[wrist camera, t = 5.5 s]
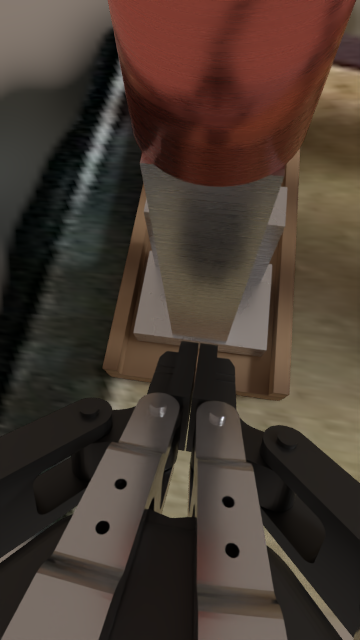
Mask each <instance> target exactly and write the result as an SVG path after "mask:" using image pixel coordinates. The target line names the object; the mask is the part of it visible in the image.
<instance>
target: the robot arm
mask: <svg viewBox="0 0 360 640" xmlns="http://www.w3.org/2000/svg"><path fill="white" fill-rule="evenodd" d="M198 346H199V343H196V342H188V341H181V344H180V348H179V352H172V351H166V352H165V353H164V354H163V355H161V356H160V357H159V360H158V363H157V366H156V369H155V373H154V375H153V378H152V381H151V384H150V387H149V390H148V393H147V395H145V396H143V397H142V398H141V399H140V400H139V401H138V403H137V405H136V406H135V407H132V408H129V409H122V410H112V407H111V405H110V404H109V403H108V402H107V401H105V400H103V399H100V398H85V399H81V400H79V401H77V402H74V403H72V404H70V405H68V406H66V407H64V408H62V409H59V410H57V411H55V412H53V413H51V414H49V415H46V416H44V417H42V418H40V419H38V420H36V421H34V422H31V423H29V424H27V425H25V426H23V427H21V428H18V429H16V430H14V431H12V432H10V433H8V434H6V435H3V436H1V437H0V558H1V557H3V556H4V555H6V554H7V553H8V552H10V551H11V550H13V549H14V548H16V547H17V546H19V545H20V544H22V543H23V542H25V541H26V540H28V539H29V538H30V537H32V536H33V535H35V534H36V533H38V532H39V531H41V530H42V529H44V528H45V527H47V526H48V525H49V524H51V523H52V522H54V521H55V520H57V519H58V518H60V517H61V516H63V515H64V514H66V513H67V512H68V511H70V510H71V509H73V508H74V507H76V506H77V505H78V506H77V508H76V510H75V512H74V514H72V515H70V516H67V517H65V518H63V519H61V520H60V521H58V522H56V523H55V524H53V525H52V526H50V527H49V528H47V529H46V530H45V531H43V532H42V533H41V534H39V535H38V536H36V537H35V538H34V539H32V540H31V541H30V542H28V543H27V544H26V545H24V546H23V547H21V548H20V549H19V550H17V551H16V552H15V553H13V554H12V555H10V556H9V557H8V558H6V559H5V560H4V561H2V562H1V563H0V640H342V638H341V637H340V636H339V634H338V633H337V631H336V630H335V629H334V627H333V626H332V625H331V623H330V622H329V621H328V619H327V618H326V617H325V615H324V614H323V612H322V611H321V610H320V608H319V607H318V606H317V604H316V603H315V602H314V600H313V599H312V598H311V596H310V595H309V594H308V592H307V591H306V590H305V588H304V587H303V585H302V584H301V583H300V581H299V580H298V579H297V577H296V576H295V575H294V573H293V572H292V571H291V569H290V568H289V567H288V565H287V564H286V563H285V562H284V561H283V560H282V559H281V558H280V557H279V555H277V554H276V553H275V552H274V551H273V550H272V549H271V548H269V547H268V546H267V545H266V541H265V535H264V529H263V525H264V527H265V528H266V529H267V530H268V532H269V533H270V534H271V535H272V537H273V538H274V539H275V540H276V542H277V543H278V544H279V545H280V547H281V548H282V549H283V550H284V552H285V553H286V554H287V555H288V557H289V558H290V559H291V560H292V562H293V563H294V564H295V565H296V567H297V568H298V569H299V570H300V572H301V573H302V574H303V575H304V577H305V578H306V579H307V580H308V582H309V583H310V584H311V585H312V587H313V588H314V589H315V590H316V592H317V593H318V594H319V595H320V597H321V598H322V599H323V600H324V602H325V603H326V604H327V605H328V607H329V608H330V609H331V610H332V612H333V613H334V614H335V615H336V617H337V618H338V619H339V620H340V622H341V623H342V624H343V625H344V627H345V628H346V629H347V630H348V632H349V633H350V634H351V635H352V637H353V638H354V640H360V483H359V482H358V481H357V480H355V479H354V478H353V477H352V476H351V475H350V474H348V473H347V472H346V471H345V470H344V469H342V468H341V467H340V466H339V465H338V464H337V463H335V462H334V461H333V460H332V459H331V458H330V457H328V456H327V455H326V454H325V453H324V452H323V451H321V450H320V449H319V448H318V447H317V446H316V445H314V444H313V443H312V442H311V441H310V440H309V439H307V438H306V437H305V436H304V435H303V434H301V433H300V432H299V431H297V430H295V429H293V428H291V427H287V426H282V425H276V426H272V427H269V428H268V429H266V430H265V432H263V431H260V430H258V429H255V428H253V427H251V426H249V425H247V424H246V423H245V422H243V421H242V420H241V418H240V417H239V414H238V412H237V411H236V385H235V366H234V365H233V363H232V362H231V360H230V359H226V358H218V357H217V353H218V345H212V344H204V343H200V349H199V355H198ZM197 355H198V362H197ZM196 364H197V369H196ZM195 373H196V375H195ZM194 381H195V382H194ZM191 402H192V404H191ZM190 409H191V412H190ZM189 415H190V421H189ZM188 422H189V430H188V439H187V448H186V451H189V452H191V461H190V469H189V488H188V517H183V518H169V517H167V516H164V515H162V511H163V508H164V504H165V500H166V496H167V493H168V489H169V485H170V481H171V478H172V474H173V470H174V464H175V462H176V459H177V454H178V450H182V451H184V449H185V442H186V435H187V429H188ZM70 455H71V458H69V459H67V460H65V461H64V462H62V463H60V464H58V465H57V466H55V467H53V468H51V469H50V470H48V471H46V472H45V473H43V474H41V475H39V474H40V473H41V472H43V471H44V470H46V469H48V468H49V467H51V466H53V465H55V464H56V463H58V462H60V461H62V460H63V459H65V458H67V457H69V456H70ZM38 475H39V476H38ZM37 476H38V477H37Z"/></svg>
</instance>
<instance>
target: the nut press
mask: <svg viewBox="0 0 360 640" xmlns="http://www.w3.org/2000/svg"><path fill="white" fill-rule="evenodd" d="M299 162H300V149H299V150H298V151H297V153H296V154H295V156H294V157H293V158H292V159H291V160H290V161H289V162H288V163H287V164H286V165H285V174H284V179H283V182H282V184H281V187H287V204H286V222H285V228H284V230H283V233H282V235H281V237H280V240H279V242H278V244H277V246H276V249H275V251H274V253H273V256H272V258H271V260H270V262H269V264H272V277H271V292H270V306H269V321H268V336H267V350H266V352H265V353H264V354H263V355H262V356H261V357H258V356H250V355H243V354H235V353H228V352H220V351H218V353H217V357H218V358H226V359H230V360H231V362H232V363H233V365H234V366H235V385H236V395H242V396H249V397H256V398H263V399H270V400H277V401H279V400H281V399H284V398H285V397H286V396H288V395H289V390H290V368H291V345H292V322H293V299H294V276H295V253H296V230H297V208H298V185H299ZM145 203H146V193H145V187H144V183H143V188H142V192H141V197H140V201H139V206H138V210H137V215H136V219H135V224H134V228H133V233H132V237H131V242H130V246H129V251H128V255H127V260H126V264H125V269H124V273H123V278H122V282H121V287H120V291H119V296H118V300H117V305H116V309H115V314H114V318H113V323H112V327H111V332H110V336H109V341H108V345H107V350H106V354H105V359H104V363H103V369H104V370H105V371H106V373H108V374H109V375H110V376H112V377H117V378H124V379H131V380H138V381H145V382H151V381H152V378H153V375H154V373H155V369H156V366H157V363H158V360H159V357H160V356H161V355H163V354H164V353H165V352H166V351H172V352H179V348H180V346H176V345H168V344H161V343H153V342H146V341H138V340H137V338H136V336H135V335H134V333H133V332H134V327H135V322H136V317H137V312H138V307H139V302H140V297H141V292H142V287H143V282H144V277H145V272H146V267H147V262H148V257H149V252H150V251H152V249H151V244H150V239H149V235H148V230H147V225H146V221H145V216H144V207H145ZM198 355H199V349H198ZM198 355H197V362H198ZM196 369H197V364H196ZM195 375H196V373H195ZM194 382H195V381H194Z"/></svg>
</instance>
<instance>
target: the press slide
mask: <svg viewBox="0 0 360 640" xmlns="http://www.w3.org/2000/svg"><path fill="white" fill-rule="evenodd" d="M355 2H356V0H108V4H109V9H110V14H111V19H112V25H113V30H114V35H115V40H116V45H117V51H118V56H119V61H120V66H121V71H122V76H123V82H124V87H125V92H126V97H127V102H128V108H129V113H130V118H131V123H132V128H133V134H134V137H135V139H136V142H137V144H138V146H139V148H140V149H141V151H142V156H141V160H140V166H141V172H142V177H143V182H144V187H145V193H146V203H145V207H144V216H145V221H146V225H147V230H148V235H149V239H150V244H151V249H152V251H150V252H149V257H148V262H147V267H146V272H145V277H144V282H143V287H142V292H141V297H140V302H139V307H138V312H137V317H136V322H135V327H134V332H133V333H134V335H135V336H136V338H137V340H138V341H146V342H153V343H161V344H168V345H176V346H180V344H181V341H188V342H196V343H199V346H198V349H200V343H204V344H212V345H218V351H220V352H228V353H235V354H243V355H250V356H258V357H261V356H262V355H263V354H264V353H265V352H266V350H267V336H268V321H269V306H270V292H271V277H272V264H269V262H270V260H271V258H272V256H273V253H274V251H275V249H276V246H277V244H278V242H279V240H280V237H281V235H282V233H283V230H284V228H285V222H286V204H287V187H281V184H282V182H283V179H284V174H285V165H286V164H287V163H288V162H289V161H290V160H291V159H292V158H293V157H294V156H295V154H296V153H297V151H298V150H299V149H300V147H301V145H302V143H303V141H304V139H305V136H306V133H307V131H308V128H309V125H310V123H311V120H312V117H313V114H314V112H315V109H316V106H317V104H318V101H319V98H320V96H321V93H322V90H323V88H324V85H325V82H326V80H327V77H328V74H329V72H330V69H331V66H332V64H333V61H334V58H335V56H336V53H337V50H338V48H339V45H340V42H341V39H342V37H343V34H344V31H345V29H346V26H347V23H348V21H349V18H350V15H351V12H352V10H353V7H354V5H355Z"/></svg>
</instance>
